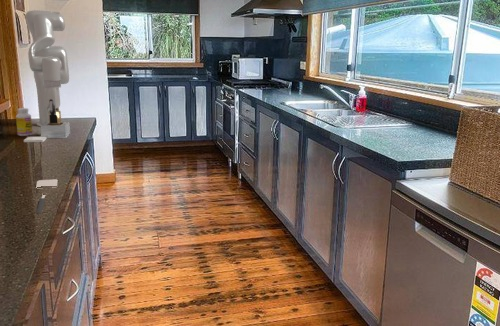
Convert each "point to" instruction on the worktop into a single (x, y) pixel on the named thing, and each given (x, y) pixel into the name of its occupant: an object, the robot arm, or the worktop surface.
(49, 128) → the housing
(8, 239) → the worktop surface
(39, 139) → the tile
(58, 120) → the tan capped cylinder
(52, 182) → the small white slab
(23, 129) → the supplement bottle
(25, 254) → the worktop surface
